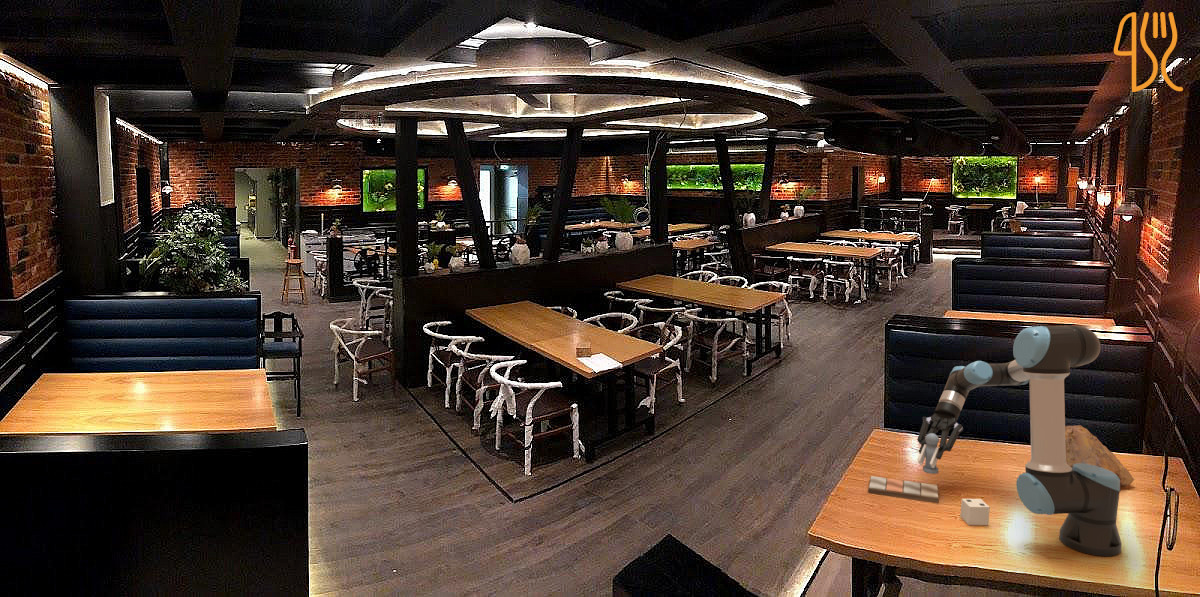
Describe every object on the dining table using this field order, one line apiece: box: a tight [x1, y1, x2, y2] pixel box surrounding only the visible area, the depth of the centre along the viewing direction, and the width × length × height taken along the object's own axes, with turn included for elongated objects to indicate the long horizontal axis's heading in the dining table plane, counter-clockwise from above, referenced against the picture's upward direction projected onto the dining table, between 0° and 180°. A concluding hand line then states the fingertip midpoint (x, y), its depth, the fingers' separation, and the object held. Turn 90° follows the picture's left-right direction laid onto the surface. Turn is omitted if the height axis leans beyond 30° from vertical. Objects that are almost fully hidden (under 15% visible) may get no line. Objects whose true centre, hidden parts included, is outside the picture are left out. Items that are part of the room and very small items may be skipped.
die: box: [959, 498, 991, 526], centre depth 229 cm, size 6×6×6 cm
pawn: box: [922, 433, 940, 475], centre depth 246 cm, size 5×5×13 cm
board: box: [868, 475, 940, 504], centre depth 252 cm, size 12×22×2 cm, turn 67°
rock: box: [1065, 424, 1135, 487], centre depth 263 cm, size 29×18×15 cm, turn 6°
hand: (925, 464), depth 244 cm, fingers closed on pawn, 3 cm apart
